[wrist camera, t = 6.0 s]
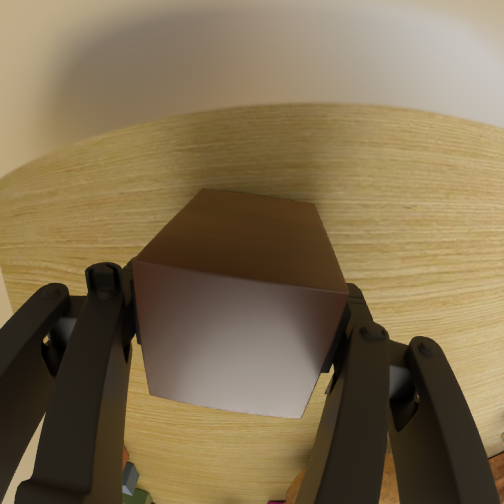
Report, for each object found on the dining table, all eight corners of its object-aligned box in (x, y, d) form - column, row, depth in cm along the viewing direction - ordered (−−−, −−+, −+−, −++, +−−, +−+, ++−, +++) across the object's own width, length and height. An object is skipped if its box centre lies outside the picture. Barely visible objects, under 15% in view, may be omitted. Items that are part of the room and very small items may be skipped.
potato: (389, 468, 27) (397, 519, 20) (280, 473, 28) (277, 530, 21) (424, 429, 23) (441, 490, 16) (295, 436, 24) (294, 510, 17)
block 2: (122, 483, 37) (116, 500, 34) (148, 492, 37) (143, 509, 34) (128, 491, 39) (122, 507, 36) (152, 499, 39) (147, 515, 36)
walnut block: (197, 284, 17) (149, 395, 10) (202, 188, 14) (131, 260, 7) (294, 298, 17) (301, 419, 9) (314, 203, 14) (350, 292, 7)
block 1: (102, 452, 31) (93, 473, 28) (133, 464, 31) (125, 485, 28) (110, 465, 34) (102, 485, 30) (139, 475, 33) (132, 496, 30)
